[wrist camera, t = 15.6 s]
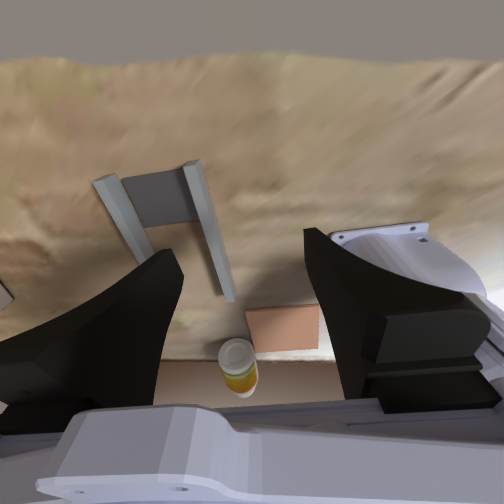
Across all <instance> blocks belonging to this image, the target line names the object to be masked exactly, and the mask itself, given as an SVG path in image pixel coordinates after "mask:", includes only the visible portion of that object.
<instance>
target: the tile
mask: <svg viewBox="0 0 504 504" xmlns="http://www.w3.org/2000/svg"><path fill="white" fill-rule="evenodd" d="M245 314H246V318H247V322H248V326H249V330H250V333H251V337H252V341H253V345H254V349H255V352H256V353H262V352H276V351H290V350H305V349H318V336H319V304H310V305H299V306H288V307H277V308H266V309H255V310H245Z"/></svg>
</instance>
